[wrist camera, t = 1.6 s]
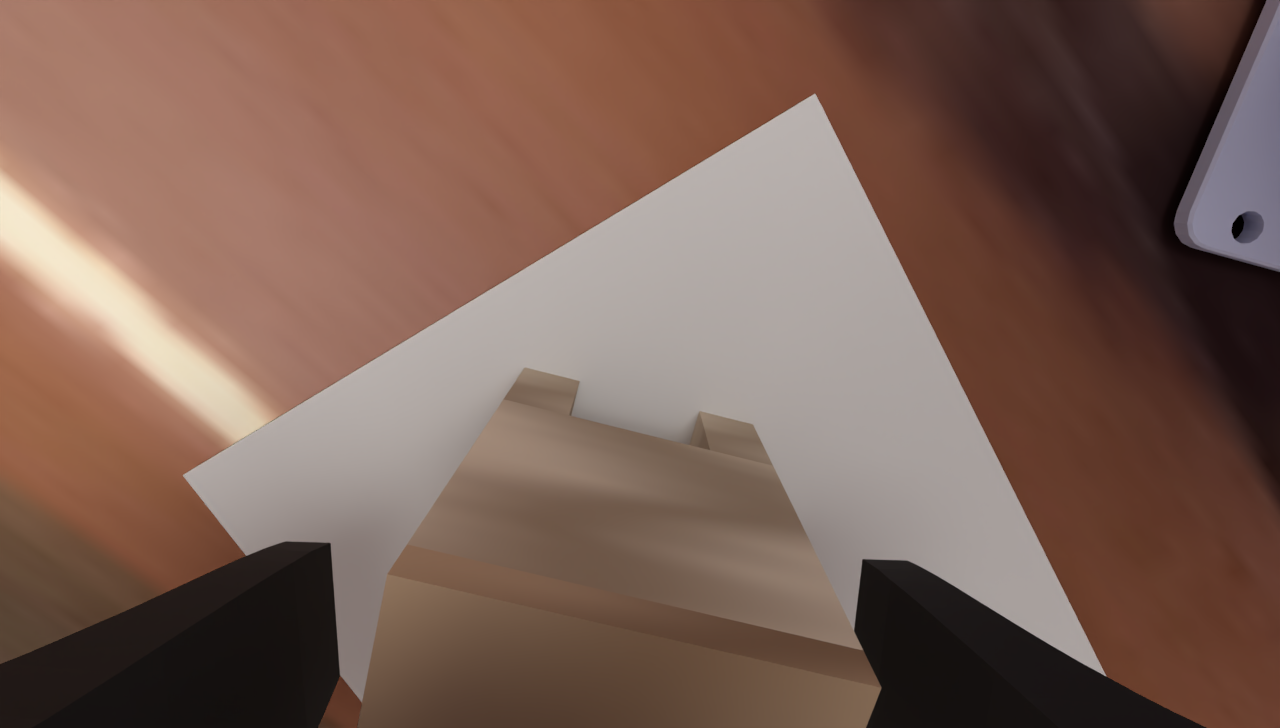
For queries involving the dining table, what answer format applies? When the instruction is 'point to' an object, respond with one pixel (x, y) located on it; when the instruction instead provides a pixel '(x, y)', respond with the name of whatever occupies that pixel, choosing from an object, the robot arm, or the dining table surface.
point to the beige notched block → (612, 587)
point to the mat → (677, 390)
